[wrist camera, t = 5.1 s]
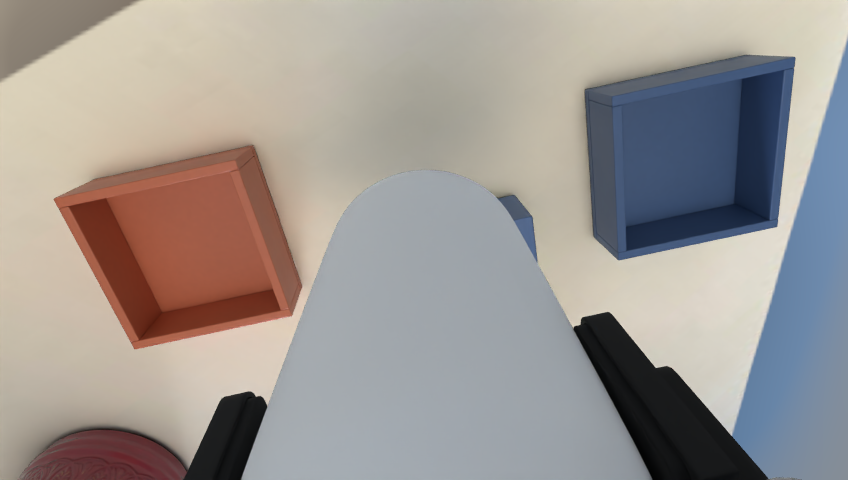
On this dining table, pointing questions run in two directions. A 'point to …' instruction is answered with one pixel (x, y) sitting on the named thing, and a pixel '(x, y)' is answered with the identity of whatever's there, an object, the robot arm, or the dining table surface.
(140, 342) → the terracotta bin
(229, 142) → the dining table surface
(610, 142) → the slate bin
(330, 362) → the can
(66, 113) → the dining table surface
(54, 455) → the kitchen canister
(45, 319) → the dining table surface
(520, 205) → the block
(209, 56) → the dining table surface
